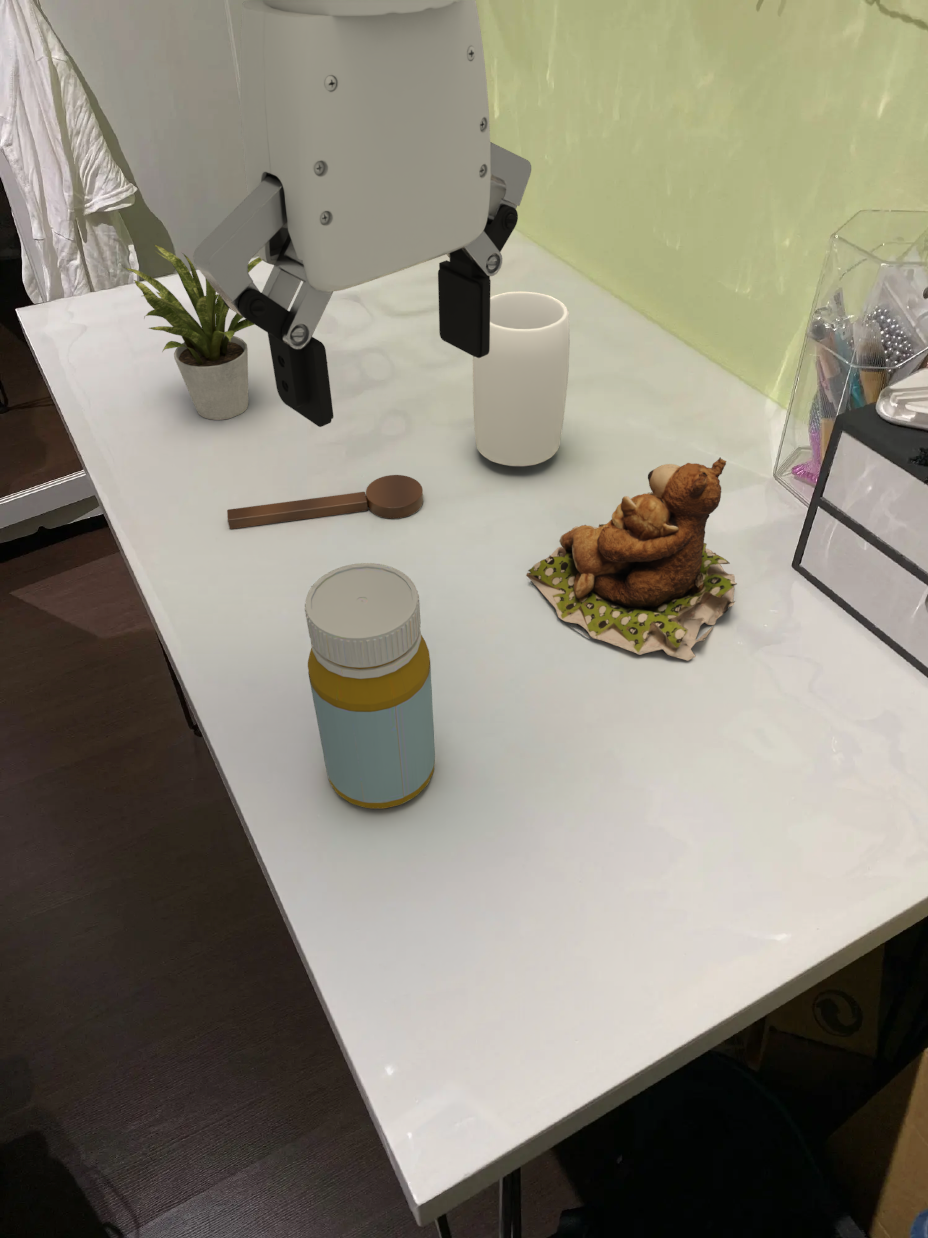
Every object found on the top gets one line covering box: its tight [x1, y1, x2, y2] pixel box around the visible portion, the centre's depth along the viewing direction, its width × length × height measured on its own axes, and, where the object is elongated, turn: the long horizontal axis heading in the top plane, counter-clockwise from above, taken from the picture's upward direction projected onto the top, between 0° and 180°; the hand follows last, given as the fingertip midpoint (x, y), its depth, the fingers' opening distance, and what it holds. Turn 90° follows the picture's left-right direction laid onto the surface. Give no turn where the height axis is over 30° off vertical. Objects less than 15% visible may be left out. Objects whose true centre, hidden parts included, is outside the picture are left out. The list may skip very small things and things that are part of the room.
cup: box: [472, 291, 571, 467], centre depth 81 cm, size 8×8×14 cm
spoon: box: [226, 474, 424, 530], centre depth 79 cm, size 17×5×1 cm, turn 102°
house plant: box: [122, 243, 264, 421], centre depth 88 cm, size 14×14×16 cm
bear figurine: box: [525, 457, 738, 662], centre depth 67 cm, size 14×15×12 cm
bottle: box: [304, 562, 436, 809], centre depth 54 cm, size 7×7×15 cm
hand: (390, 378), depth 45 cm, fingers open, 9 cm apart
